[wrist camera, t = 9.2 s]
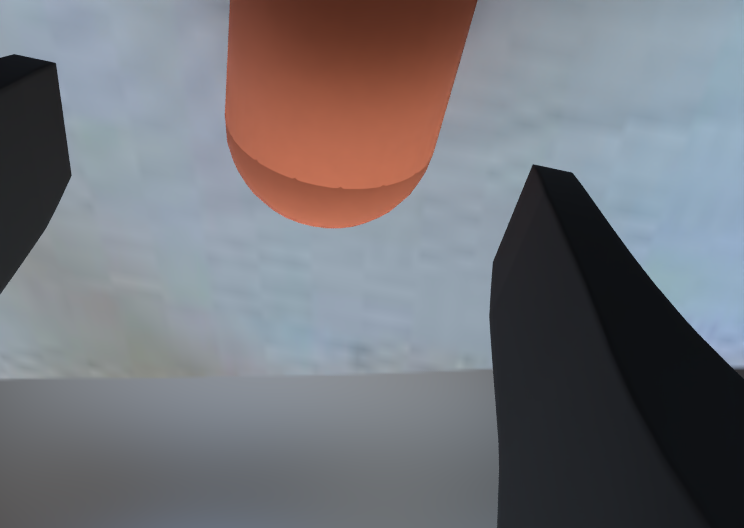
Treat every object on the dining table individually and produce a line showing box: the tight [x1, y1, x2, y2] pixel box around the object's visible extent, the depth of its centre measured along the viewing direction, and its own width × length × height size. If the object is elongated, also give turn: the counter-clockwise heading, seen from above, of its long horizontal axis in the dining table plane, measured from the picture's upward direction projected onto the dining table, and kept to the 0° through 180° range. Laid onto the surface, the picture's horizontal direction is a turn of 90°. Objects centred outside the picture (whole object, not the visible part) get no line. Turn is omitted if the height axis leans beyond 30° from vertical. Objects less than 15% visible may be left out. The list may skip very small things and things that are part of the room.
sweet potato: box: [225, 0, 477, 228], centre depth 15 cm, size 9×5×5 cm, turn 170°
